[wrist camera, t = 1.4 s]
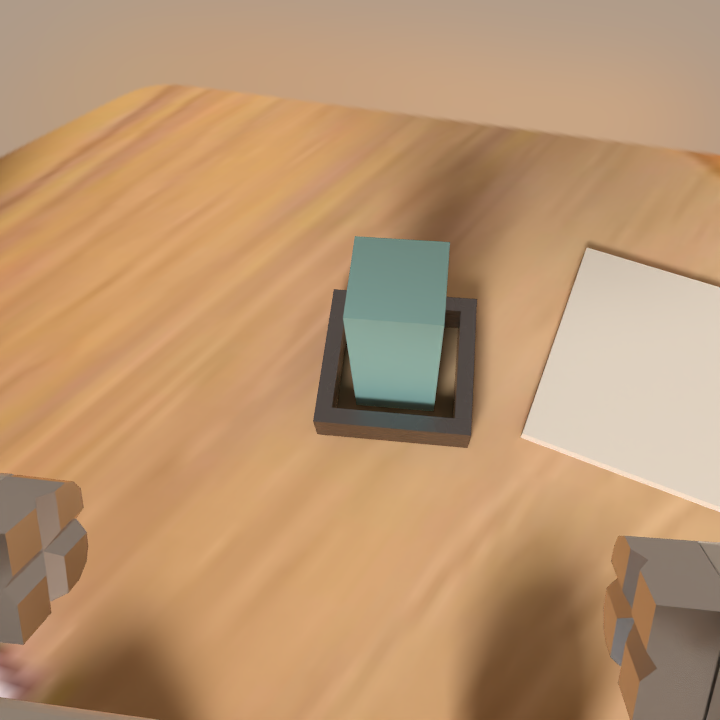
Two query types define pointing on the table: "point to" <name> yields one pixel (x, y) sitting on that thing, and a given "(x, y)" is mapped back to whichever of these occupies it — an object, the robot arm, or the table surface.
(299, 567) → the table surface
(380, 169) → the table surface
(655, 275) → the white mat
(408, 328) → the teal block
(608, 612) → the robot arm
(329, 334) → the metal cradle
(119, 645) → the table surface
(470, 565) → the table surface
